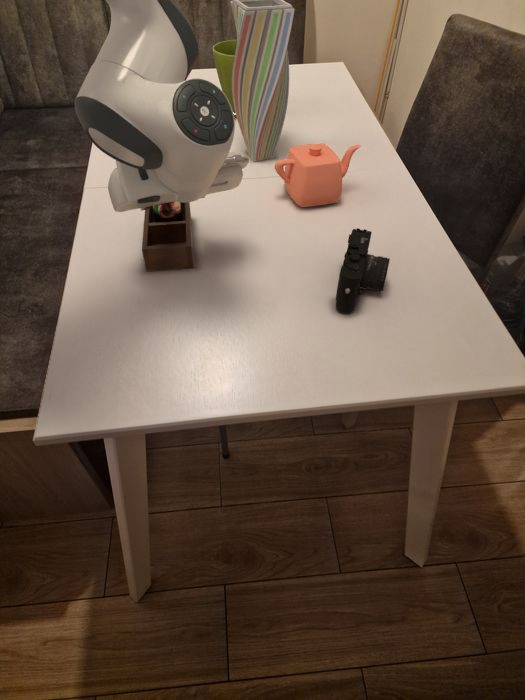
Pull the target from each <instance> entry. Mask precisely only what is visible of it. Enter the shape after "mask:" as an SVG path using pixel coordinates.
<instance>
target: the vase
mask: <svg viewBox="0 0 525 700" xmlns="http://www.w3.org/2000/svg"><path fill="white" fill-rule="evenodd" d="M230 7H231V13H232V17H233V21H234V25H235V31H236V40H237V46H236V52H235V57H234V63H233V71H232V94H233V102H234V108H235V112H236V116H237V118H236V120H237V123H238V126H239V129H240V133H241V135H242V138H243V142H244V144H245V147H246V148H245V149H246V152H247V154H248V155H249V156H250V158H251V159H252V160H253V162H258V161H264V160H270V159H275V154H276V151H277V148H278V145H279V142H280V139H281V135H282V132H283V128H284V124H285V120H286V115H287V111H288V110H287V109H288V101H289V95H290V94H289V93H290V61H289V51H288V44H289V41H290V35H291V31H292V26H293V21H294V20H293V19H294V16H295V15H294V14H295V7H294V6H293V5H292V4H291V3H289V2H287V1H285V0H230Z"/></svg>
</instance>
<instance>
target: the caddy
mask: <svg viewBox="0 0 525 700" xmlns="http://www.w3.org/2000/svg"><path fill="white" fill-rule="evenodd" d="M181 208H182V216H183V221H174V222H157V223H155V218H154V212H153V206H151V207H150V209H147V210H144V219H143V230H142V231H143V232H142V243H141V251H142V256H143V262H144V267H145V271H146V272H158V271H172V270H173V271H174V270H185V269H195V264H194V263H195V261H194V245H193V244H194V243H193V223H192V213H191V202H181Z"/></svg>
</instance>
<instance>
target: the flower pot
mask: <svg viewBox="0 0 525 700" xmlns="http://www.w3.org/2000/svg"><path fill="white" fill-rule="evenodd" d="M236 46H237V39H229V40H224V41H220V42H217V43H215V44H213V46H212V54H213V61H214V64H215V69H216V73H217V78H218V81H219V84H220V89H221V90H222V91H223V93H224V94H225V95H226V97H227V99H228V100H229V102H230V105H231V107H232V111H233V112H234V113H236V112H235V108H234V102H233V94H232V71H233V63H234V57H235V52H236ZM234 119H237V116H236V115H234Z"/></svg>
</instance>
